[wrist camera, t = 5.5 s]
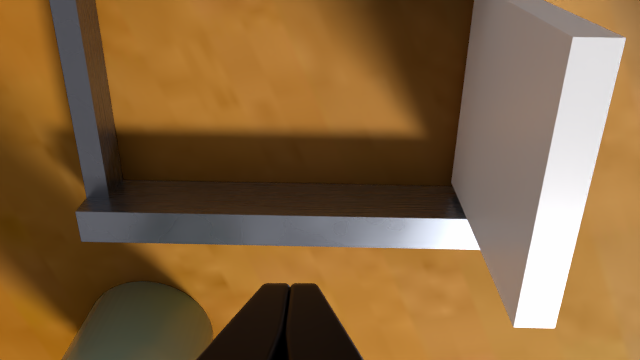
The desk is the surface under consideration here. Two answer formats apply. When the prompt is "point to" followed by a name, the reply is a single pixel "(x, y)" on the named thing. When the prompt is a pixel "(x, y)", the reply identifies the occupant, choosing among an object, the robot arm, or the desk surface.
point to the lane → (228, 184)
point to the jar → (142, 325)
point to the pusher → (531, 144)
